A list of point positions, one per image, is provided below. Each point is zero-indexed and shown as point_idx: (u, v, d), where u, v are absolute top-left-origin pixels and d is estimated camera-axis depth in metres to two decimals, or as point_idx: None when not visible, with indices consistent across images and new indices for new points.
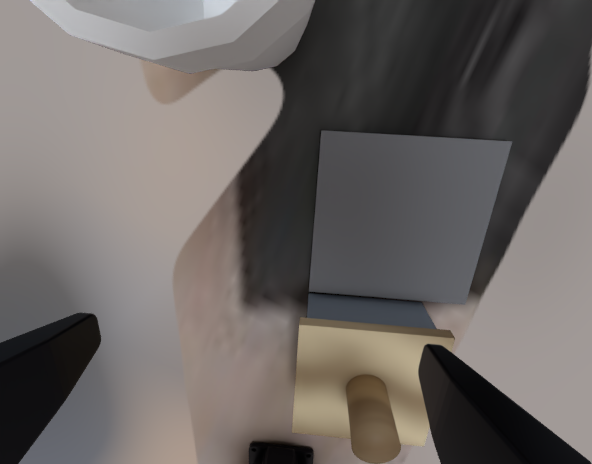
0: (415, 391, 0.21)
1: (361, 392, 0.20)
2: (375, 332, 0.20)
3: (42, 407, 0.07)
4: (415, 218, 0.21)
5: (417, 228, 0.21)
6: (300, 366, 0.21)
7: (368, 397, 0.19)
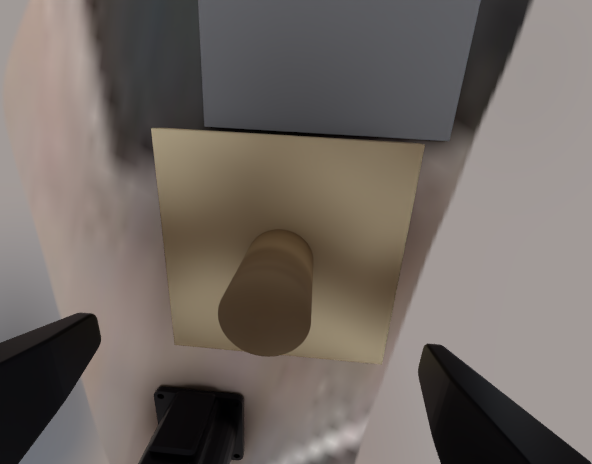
0: (362, 260, 0.12)
1: (258, 245, 0.11)
2: (284, 138, 0.11)
3: (42, 407, 0.07)
4: None
5: None
6: (167, 217, 0.12)
7: (266, 247, 0.11)
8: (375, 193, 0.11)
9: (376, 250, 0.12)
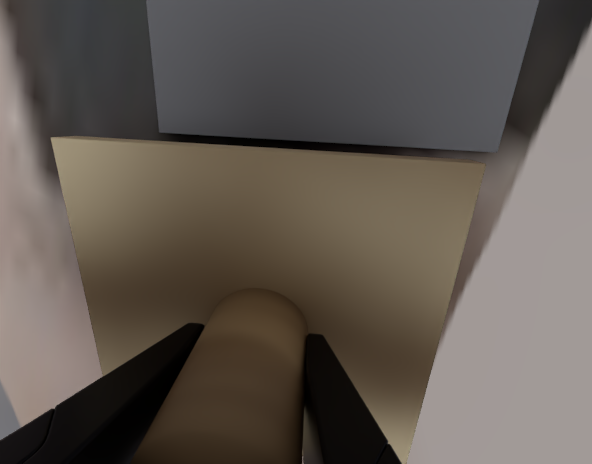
0: (380, 333, 0.08)
1: (219, 324, 0.07)
2: (259, 154, 0.07)
3: None
4: None
5: None
6: (89, 270, 0.08)
7: (229, 333, 0.06)
8: (403, 238, 0.07)
9: (402, 319, 0.08)
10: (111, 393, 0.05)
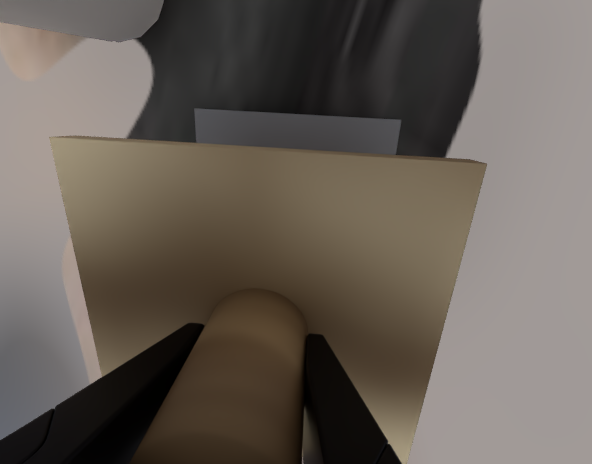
0: (380, 333, 0.08)
1: (219, 325, 0.07)
2: (259, 153, 0.07)
3: None
4: None
5: None
6: (88, 270, 0.08)
7: (229, 334, 0.06)
8: (403, 238, 0.07)
9: (402, 319, 0.08)
10: (111, 393, 0.05)
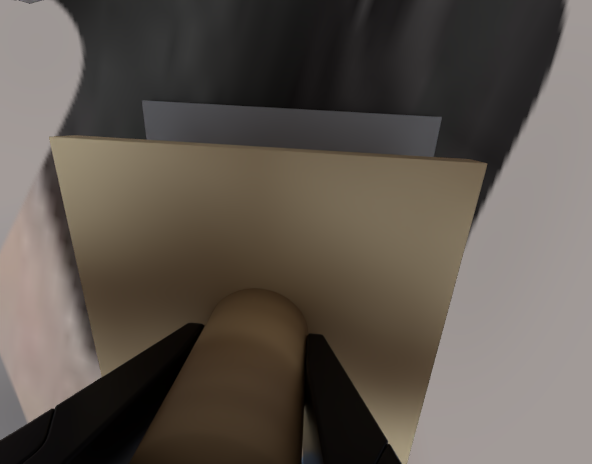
0: (380, 333, 0.08)
1: (218, 325, 0.07)
2: (259, 153, 0.07)
3: None
4: None
5: None
6: (88, 270, 0.08)
7: (229, 334, 0.06)
8: (403, 238, 0.07)
9: (402, 319, 0.08)
10: (111, 393, 0.05)
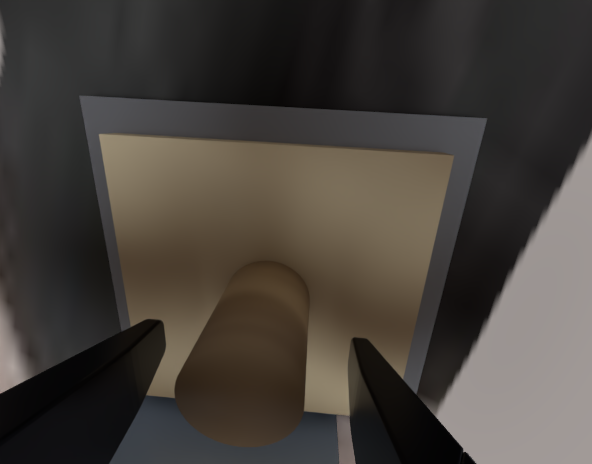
0: (370, 299, 0.10)
1: (237, 286, 0.08)
2: (270, 147, 0.08)
3: (123, 416, 0.07)
4: None
5: None
6: (125, 246, 0.10)
7: (247, 291, 0.08)
8: (388, 217, 0.09)
9: (388, 287, 0.10)
10: (49, 387, 0.05)
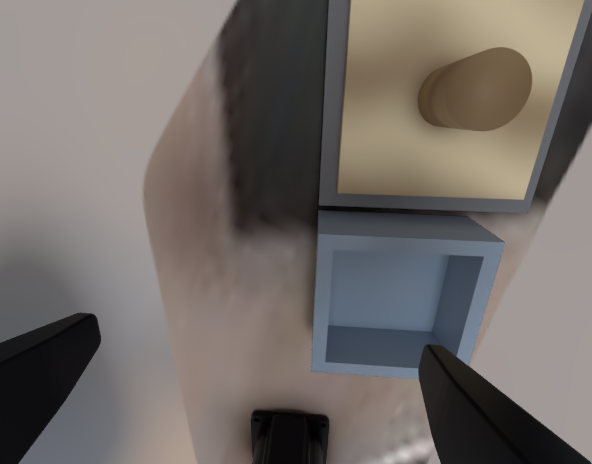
0: None
1: (451, 63, 0.13)
2: None
3: (42, 407, 0.07)
4: None
5: None
6: (353, 60, 0.15)
7: None
8: (543, 21, 0.13)
9: (535, 79, 0.14)
10: None
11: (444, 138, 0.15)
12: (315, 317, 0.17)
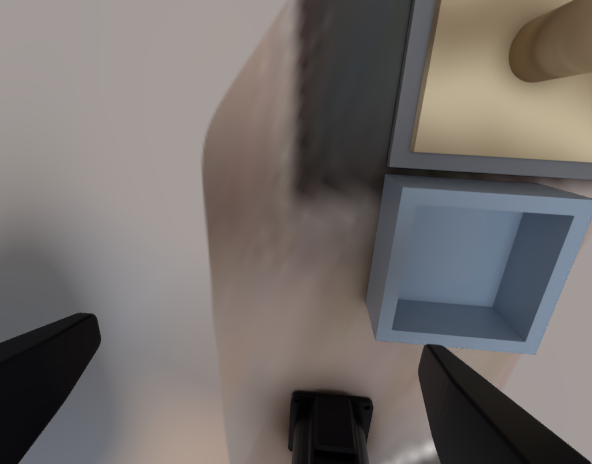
0: None
1: (557, 7, 0.13)
2: None
3: (42, 407, 0.07)
4: None
5: None
6: (446, 8, 0.14)
7: None
8: None
9: None
10: None
11: (532, 95, 0.15)
12: (387, 280, 0.16)
